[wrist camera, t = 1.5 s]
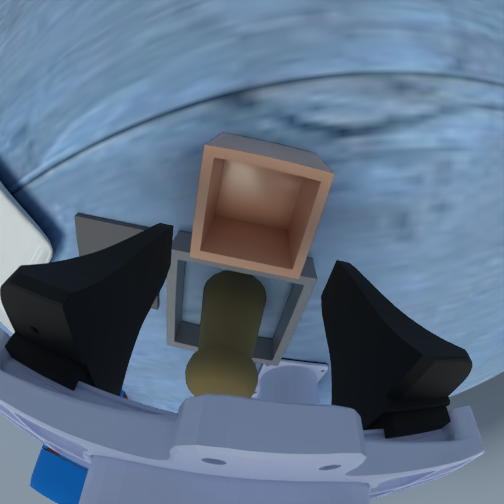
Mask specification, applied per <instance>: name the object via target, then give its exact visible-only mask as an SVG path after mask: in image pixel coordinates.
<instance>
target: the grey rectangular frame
mask: <svg viewBox="0 0 504 504" xmlns="http://www.w3.org/2000/svg"><path fill="white" fill-rule="evenodd" d="M191 239H192V233H188V232H183V231H179V232H178V234H177V235H176V237H175V238H174V240H173V242H172V253H171V266H170V269H169V271H168V274H167V345H171V346H175V347H179V348H183V349H187V350H191V351H196V352H197V351H198V346H199V334H200V325H196V324H191V323H187V322H183V321H181V318H182V300H183V285H184V272H185V261H188V262H192V263H197V264H202V265H206V266H211V267H216V268H220V269H225V270H230V271H235V272H240V273H245V274H250V275H255V276H260V277H265V278H270V279H275V280H280V281H285V282H290V283H294V285H293V287H292V290H291V293H290V295H289V298H288V301H287V303H286V306H285V308H284V311H283V314H282V316H281V319H280V321H279V324H278V326H277V329H276V331H275V334H274V336H273V339H268V338H262V337H257V340H256V344H255V349H254V353H253V357H252V360H253V361H254V363H260V364H266V365H273V366H278V365H279V363H280V361H281V358H282V356H283V354H284V352H285V350H286V348H287V346H288V344H289V342H290V340H291V337H292V335H293V333H294V331H295V329H296V327H297V324H298V322H299V320H300V318H301V315H302V313H303V311H304V309H305V306H306V304H307V302H308V299H309V297H310V295H311V292H312V290H313V288H314V285H315V283H316V281H317V276H316V272H315V268H314V263H313V259H312V258H308V257H307V258H306V261H305V264H304V266H303V269H302V272H301V274H300V277H299V279H295V278H290V277H285V276H280V275H275V274H270V273H265V272H260V271H255V270H250V269H245V268H240V267H236V266H231V265H226V264H221V263H216V262H212V261H207V260H202V259H197V258H193V257H190V249H191Z"/></svg>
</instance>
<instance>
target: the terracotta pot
mask: <svg viewBox="0 0 504 504" xmlns="http://www.w3.org/2000/svg"><path fill="white" fill-rule="evenodd" d="M334 175H335V174H334V173H333V172H332V171H331V169H330V168H329V167H328V166H327V165H326V164H325V163H324V162H323V160H322V159H321V158H320V157H319V156H318V155H317V154H315V153H312V152H308V151H304V150H301V149H297V148H293V147H289V146H285V145H280V144H276V143H272V142H267V141H263V140H258V139H253V138H248V137H243V136H238V135H233V134H227V133H221V134H220V135H218V136H217V137H215V138H214V139H212V140H211V141H209V142H208V143H207V144H205V146H204V152H203V158H202V164H201V171H200V177H199V184H198V191H197V199H196V206H195V214H194V222H193V231H192V239H191V249H190V257H193V258H197V259H202V260H207V261H212V262H216V263H221V264H226V265H231V266H236V267H240V268H245V269H250V270H255V271H260V272H265V273H270V274H275V275H280V276H285V277H290V278H295V279H299V277H300V274H301V272H302V269H303V266H304V264H305V261H306V258H307V255H308V252H309V250H310V247H311V244H312V241H313V238H314V235H315V233H316V230H317V227H318V224H319V221H320V218H321V215H322V212H323V209H324V206H325V203H326V200H327V197H328V194H329V190H330V187H331V184H332V181H333V178H334Z"/></svg>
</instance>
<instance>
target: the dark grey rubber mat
mask: <svg viewBox="0 0 504 504" xmlns="http://www.w3.org/2000/svg"><path fill="white" fill-rule="evenodd" d="M75 225H76V234H77V242H78V250H79V256H83V255H87V254H90V253H94V252H96V251H99V250H102V249H105V248H107V247H110V246H112V245H114V244H117V243H119V242H121V241H123V240H126V239H128V238H130V237H132V236H134V235H136V234H138V233H140V232H142V231H144V230H146V229H148V227H143V226H138V225H133V224H129V223H124V222H119V221H114V220H109V219H104V218H99V217H94V216H89V215H84V214H79V213H78V214H76V215H75ZM151 308H153V309H157V310H158V308H159V293H158V295H157V297H156V299H155V301H154V303H153V304H152V306H151Z"/></svg>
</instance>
